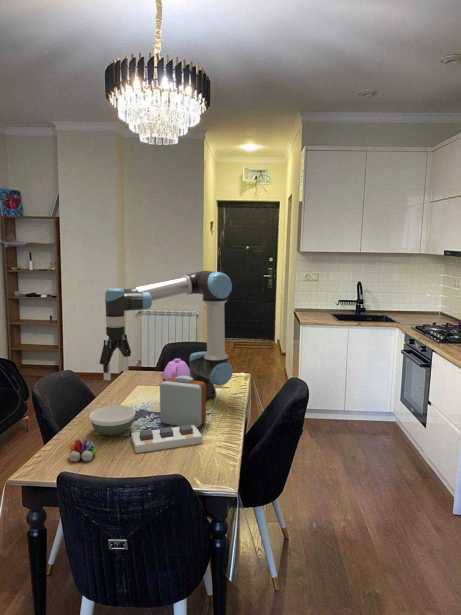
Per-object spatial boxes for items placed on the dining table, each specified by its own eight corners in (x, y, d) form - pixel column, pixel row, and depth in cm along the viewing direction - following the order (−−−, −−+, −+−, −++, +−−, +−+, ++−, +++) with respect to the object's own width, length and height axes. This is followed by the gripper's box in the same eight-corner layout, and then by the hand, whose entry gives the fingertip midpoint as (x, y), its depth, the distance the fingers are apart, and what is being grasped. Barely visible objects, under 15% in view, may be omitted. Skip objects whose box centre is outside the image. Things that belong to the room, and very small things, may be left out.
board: (194, 431, 196) (194, 424, 196) (202, 443, 185) (202, 435, 184) (131, 440, 187) (131, 432, 187) (135, 453, 176) (135, 445, 176)
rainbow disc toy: (72, 453, 176) (71, 434, 175) (98, 452, 177) (97, 434, 176) (66, 463, 168) (65, 444, 167) (94, 462, 169) (93, 443, 168)
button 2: (190, 431, 191) (190, 424, 191) (192, 436, 187) (192, 428, 187) (179, 433, 190) (179, 425, 189) (182, 437, 186) (182, 430, 185)
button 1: (151, 437, 186) (150, 429, 185) (153, 441, 182) (152, 434, 181) (139, 438, 184) (139, 431, 184) (141, 443, 180) (141, 435, 180)
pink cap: (188, 385, 257) (188, 364, 255) (160, 385, 258) (159, 363, 256) (192, 374, 279) (192, 354, 277) (166, 373, 279) (166, 354, 278)
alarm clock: (206, 421, 207) (206, 376, 204) (198, 429, 198) (198, 382, 195) (168, 416, 213) (168, 372, 210) (159, 423, 204) (158, 378, 201)
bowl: (95, 444, 183) (94, 424, 182) (86, 427, 200) (85, 409, 198) (141, 435, 192) (141, 416, 190) (129, 420, 208) (128, 402, 207)
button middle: (170, 434, 189) (170, 427, 188) (173, 438, 184) (173, 431, 184) (160, 436, 187) (159, 428, 187) (162, 440, 183) (162, 432, 183)
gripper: (123, 320, 207) (124, 367, 210) (89, 330, 183) (90, 382, 186) (138, 321, 204) (139, 368, 207) (105, 331, 181) (107, 384, 184)
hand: (116, 375), depth 197 cm, fingers open, 13 cm apart
